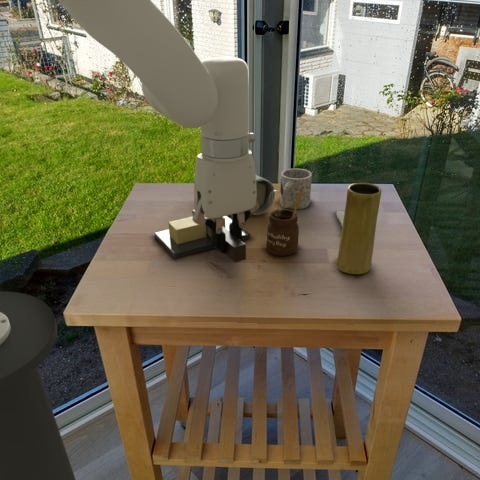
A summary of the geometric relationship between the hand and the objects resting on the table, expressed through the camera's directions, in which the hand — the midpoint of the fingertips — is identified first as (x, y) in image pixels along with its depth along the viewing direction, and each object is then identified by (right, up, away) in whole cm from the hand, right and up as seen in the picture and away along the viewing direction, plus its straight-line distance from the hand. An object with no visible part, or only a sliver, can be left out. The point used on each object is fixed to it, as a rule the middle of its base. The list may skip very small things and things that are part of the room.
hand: (227, 247), depth 89 cm
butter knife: (+23, +3, +7) cm, 24 cm away
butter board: (-5, +3, +8) cm, 10 cm away
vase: (+22, -4, -2) cm, 23 cm away
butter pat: (-3, +5, +8) cm, 10 cm away
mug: (+14, +12, +20) cm, 27 cm away
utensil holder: (+10, 0, +4) cm, 11 cm away
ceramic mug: (+4, +11, +18) cm, 22 cm away
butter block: (-8, +3, +6) cm, 10 cm away
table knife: (-2, +2, +4) cm, 5 cm away
